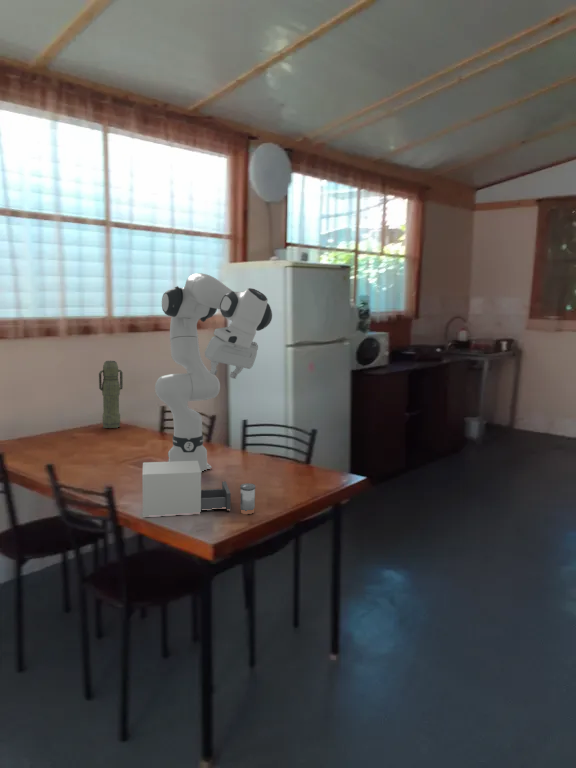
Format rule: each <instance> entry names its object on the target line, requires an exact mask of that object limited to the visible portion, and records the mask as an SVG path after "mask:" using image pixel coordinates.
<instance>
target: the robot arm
mask: <svg viewBox="0 0 576 768" xmlns="http://www.w3.org/2000/svg"><path fill="white" fill-rule="evenodd" d="M184 285H185V286H184V287H179V285H177V286H175V287H173V288H170V289H167V290H166V291H165V292H163V294H162V297H161V308H162V311H163V313H164V314H165V315H166V316H169V317H171V318H170V322H169V324H170V327H169V342H170V354H171V355H170V356H171V359H172V361H173V362H174V363H175V364H177V365H178V366H179V365H180V366H181V367H183V368H184V369H185V370H186V373H169V374H165V375H161V376H160V377H158V379H157V380H156V381H155V385H154V391H155V394H156V396H157V398H158V399H159V400H160V401H161V402H163V403H164V404H166V406H167V407H168V409H169V410H170V412H171V416H172V420H173V435H172V447H171V448H170V449H169V451H168V452H167V457H168V460H167V462H174V461H198V463H199V467H200V470H201V473H203V472H202V471H204V470H206V469H210V468H212V465H210V463H208V450H207V448H206V447H205V446H204V445H203V444H204V435H203V417H202V415H201V413H199V412H198V411H196V410H195V409H193V408H190V407H189V405H188V404H189V403H188V402H198V401H199V402H200V401H207V400H211V399H214V398H217V396H218V395H219V393H220V390H221V383H220V379H219V378H218V377H217V376H216V375H217V373H218V371H219V370H218V369H217V366H219V363H220V364H224V365H228V366H229V365H231V366H235V368H234V370H233V371H230V374H229V377H230V378H231V379H237V377H238V375H239V374H240V373H242V371H243V369H249V370H250V369H252V367H253V365H254V364H255V360H256V357H257V354H258V350H259V345H258V343H257V342H256V341H253V340H254V338H255V337H256V334H257V331H262V330H264V329H266V327H268V326H269V325H270V324H271V322H272V319H273V311H272V307H271V306H270V304H269V303H268V298H267V296H266V295H265V294H264V293H262V292H261V291H260V290H257V289H255V288H251V287H250V288H246V289H245V290H244V291H234V290H233V289H231V288H229V287H228V286H227V285H226V284H224V283H222V282H221V281H220V280H219V279H217V278H215V277H214V276H211V275H210V274H206V273H202V272H201V273H200V272H197V273H193V274H190V276H188V277H187V279H186V281H185V284H184ZM217 310H219V311H220V313H221V316H222V317H224V318H225V319H227V320H229V321H231V322H230V324H229V326H226V327H218V328H215V329H214V332H213V335H214V336H212V337H211V339H210V340H209V342H208V344H207V347H206V348H205V350H204V357H205V358H206V359H208V360H210V367H211V368H210V370H209V369H208V368H207V366H206V365H205V364H204V361H203V359H202V357H201V352H200V345H199V333H198V326H197V325H198V322H199V320H200V321H201V322H202V323H204V322H206V321H207V320H208V319H210V318H212V317H213V316H215V315H216V313H217ZM210 470H211V469H210ZM206 471H207V470H206ZM204 472H205V471H204Z"/></svg>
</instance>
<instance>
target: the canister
mask: <svg viewBox="0 0 576 768" xmlns="http://www.w3.org/2000/svg"><path fill="white" fill-rule="evenodd" d="M239 488H240V509H241V510H245V511H247V510H253V509H254V508H255V507H256V506H255V504H256V501H255V500H256V484H254V483H249V482H248V483H242V484H240V487H239ZM255 509H256V508H255Z"/></svg>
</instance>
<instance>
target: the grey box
mask: <svg viewBox="0 0 576 768" xmlns="http://www.w3.org/2000/svg"><path fill="white" fill-rule="evenodd" d="M141 480H142V483H141V484H142V517H143V516H149V515H165V514H178V513H193V512H201V513H202V511H201V490H202V472H201V470H200V467H199V463H198V461H174V462H168V461H150V462H149V461H148V462H142V479H141Z"/></svg>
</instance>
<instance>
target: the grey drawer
mask: <svg viewBox="0 0 576 768" xmlns="http://www.w3.org/2000/svg"><path fill="white" fill-rule="evenodd" d="M221 483H222V484H221V487H222V488H216V489H214V488H213V489H201V510H202V509H212V508H222V507H226V509H230V510H231V491H230V488H229V486H228V484H227V481H225V480H224V481H221Z"/></svg>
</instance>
